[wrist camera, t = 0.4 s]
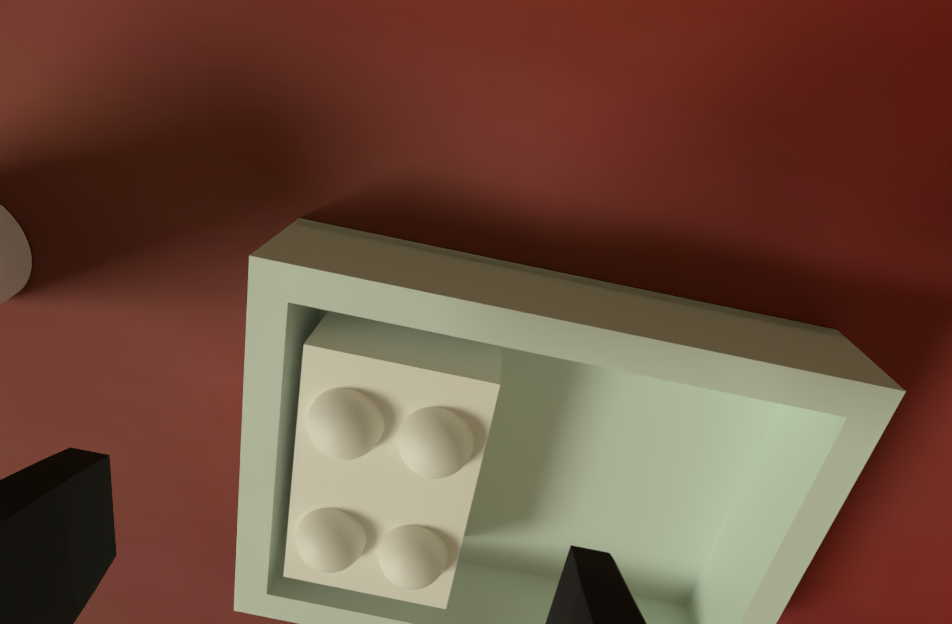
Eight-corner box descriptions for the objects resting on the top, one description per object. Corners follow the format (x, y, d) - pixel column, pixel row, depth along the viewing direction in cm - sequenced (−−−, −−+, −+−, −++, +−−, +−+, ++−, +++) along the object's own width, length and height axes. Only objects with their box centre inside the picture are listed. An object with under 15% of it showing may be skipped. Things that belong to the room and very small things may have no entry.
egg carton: (456, 536, 21) (441, 638, 18) (314, 507, 21) (270, 604, 17) (504, 333, 18) (499, 406, 14) (337, 298, 18) (289, 363, 14)
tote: (698, 616, 23) (727, 709, 19) (274, 530, 22) (233, 610, 19) (837, 329, 18) (906, 391, 15) (299, 217, 18) (249, 255, 14)
